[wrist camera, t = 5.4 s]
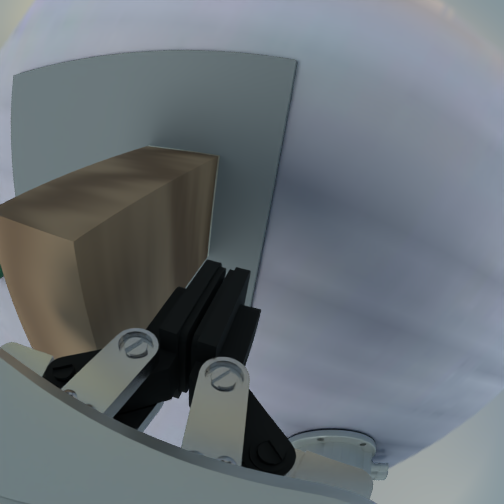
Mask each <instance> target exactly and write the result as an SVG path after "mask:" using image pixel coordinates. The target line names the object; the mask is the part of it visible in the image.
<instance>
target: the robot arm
mask: <svg viewBox="0 0 504 504" xmlns="http://www.w3.org/2000/svg"><path fill="white" fill-rule="evenodd" d="M250 274H251V271H250V270H246V269H242V268H239V267H236V268H235V270H231V269H230V270H229V271H228V273H227V275H226V268H224V267H222V263H220V262H216V261H212V260H208V259H207V260H206V261H205V263H204V264H203V266H202V267H201V268H200V270H199V271H198V273H197V274H196V275H195V277H194V278H193V280H192V281H191V282H190V284H189V285H188V287H187V288H183V287H180V286H179V287H177V288H176V289H175V290H174V292H173V293H172V294H171V296H170V297H169V298H168V300H167V301H166V302H165V304H164V305H163V306H162V308H161V309H160V311H159V312H158V313H157V315H156V316H155V317H154V319H153V320H152V322H151V323H150V324H149V326H148V327H147V328H146V330H145V329H141V328H131V329H127V330H124V331H122V332H121V333H119V334H118V335H117V336H116V337H115V338H114V339H113V340H112V341H110V342H109V343H108V344H107V345H106V346H105V347H104V348H103V349H99V350H94V351H89V352H84V353H79V354H74V355H69V356H64V357H60V358H57V359H54V357H53V355H49V354H46V353H43V352H40V351H37V350H35V349H32V348H29V347H26V346H23V345H21V344H18V343H14V342H10V343H6V344H5V345H3V346H2V347H1V348H0V504H376V503H375V502H373V501H372V500H370V496H371V493H372V489H373V481H372V480H385V479H386V477H387V475H388V467H389V465H388V463H374V462H373V461H371V459H372V458H373V457H374V456H375V453H376V444H375V442H374V441H373V439H371V438H370V437H368V436H366V435H364V434H361V433H357V432H353V431H345V430H318V431H311V432H305V433H301V434H298V435H295V436H293V437H291V438H289V439H288V438H287V437H286V436H285V435H284V433H283V432H282V431H281V430H280V428H279V427H278V426H277V425H276V423H275V422H274V421H273V420H272V418H271V417H270V416H269V414H268V413H267V412H266V411H265V409H264V408H263V407H262V405H261V404H260V403H259V401H258V400H257V399H256V397H255V396H254V395H253V393H252V392H251V391H250V389H249V382H250V378H249V373H248V371H247V369H246V367H245V365H246V362H247V359H248V356H249V353H250V349H251V346H252V343H253V340H254V336H255V333H256V329H257V325H258V321H259V317H260V313H261V310H260V309H257V308H253V307H249V306H245V300H246V294H247V289H248V284H249V279H250ZM225 275H226V277H225ZM188 390H189V406H190V412H189V416H188V420H187V425H186V429H185V433H184V437H183V442H182V446H181V448H180V447H177V446H175V445H172V444H169V443H167V442H164V441H162V440H159V439H157V438H154V437H152V436H149V435H147V434H145V433H143V431H144V430H145V429H146V427H147V426H148V425H149V423H150V422H151V421H152V419H153V418H154V417H155V415H156V414H157V413H158V412H159V410H160V409H161V408H162V406H163V404H164V401H167V400H170V399H172V397H175V398H178V399H179V397H180V395H181V393H182V392H185V393H187V391H188Z"/></svg>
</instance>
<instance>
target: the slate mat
mask: <svg viewBox="0 0 504 504" xmlns="http://www.w3.org/2000/svg"><path fill="white" fill-rule="evenodd" d="M296 67H297V60H294V59H288V58H281V57H274V56H267V55H258V54H249V53H238V52H224V51H202V50H168V51H146V52H132V53H122V54H113V55H105V56H97V57H91V58H85V59H79V60H74V61H68V62H64V63H59V64H54V65H50V66H46V67H42V68H38V69H34V70H31V71H27V72H23V73H20V74H17V75H14V76H13V87H12V103H11V150H12V167H13V178H14V188H15V196H16V197H17V196H19V195H21V194H23V193H25V192H27V191H29V190H31V189H33V188H36V187H38V186H40V185H42V184H45V183H47V182H49V181H51V180H54V179H56V178H59V177H61V176H63V175H66V174H68V173H71V172H73V171H76V170H78V169H81V168H84V167H86V166H89V165H92V164H94V163H97V162H100V161H103V160H106V159H108V158H111V157H114V156H117V155H120V154H123V153H126V152H130V151H133V150H136V149H139V148H142V147H146V146H158V147H166V148H174V149H181V150H188V151H195V152H201V153H208V154H214V155H220V159H219V167H218V175H217V183H216V192H215V200H214V209H213V218H212V228H211V238H210V248H209V256H208V257H207V258H206V260H207V259H208V260H212V261H216V262H220V263H222V267H224V268H226V275H227V273H228V271H229V270H230V269H231V270H235V268H236V267H239V268H242V269H246V270H250V271H251V274H250V279H249V284H248V289H247V294H246V300H245V306H249V307H251V304H252V299H253V294H254V289H255V284H256V279H257V274H258V269H259V264H260V258H261V253H262V248H263V243H264V238H265V233H266V228H267V223H268V217H269V212H270V207H271V202H272V197H273V191H274V186H275V181H276V176H277V170H278V165H279V160H280V154H281V149H282V144H283V138H284V133H285V128H286V122H287V117H288V111H289V106H290V100H291V95H292V89H293V84H294V78H295V73H296ZM206 260H205V261H206ZM205 261H204V262H203V264H204V263H205ZM203 264H202V265H201V267H202V266H203ZM201 267H200V268H201ZM200 268H199V269H198V271H199V270H200ZM198 271H197V272H196V273H195V275H196V274H197V273H198ZM195 275H194V276H193V278H194V277H195ZM226 275H225V277H226ZM193 278H192V279H191V280H190V282H191V281H192V280H193ZM190 282H189V283H188V285H189V284H190ZM188 285H187V286H186V287H185V288H187V287H188Z"/></svg>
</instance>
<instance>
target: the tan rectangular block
mask: <svg viewBox="0 0 504 504" xmlns="http://www.w3.org/2000/svg"><path fill="white" fill-rule="evenodd" d="M219 159H220V155H214V154H208V153H201V152H195V151H188V150H181V149H174V148H166V147H158V146H146V147H142V148H139V149H136V150H133V151H130V152H126V153H123V154H120V155H117V156H114V157H111V158H108V159H106V160H103V161H100V162H97V163H94V164H92V165H89V166H86V167H84V168H81V169H78V170H76V171H73V172H71V173H68V174H66V175H63V176H61V177H59V178H56V179H54V180H51V181H49V182H47V183H45V184H42V185H40V186H38V187H36V188H33V189H31V190H29V191H27V192H25V193H23V194H21V195H19V196H17V197H15V198H12V199H10V200H8V201H7V202H5V203H3V204H1V205H0V264H1V268H2V271H3V274H4V278H5V281H6V284H7V287H8V290H9V293H10V296H11V298H12V301H13V304H14V306H15V309H16V312H17V314H18V317H19V319H20V322H21V324H22V326H23V329H24V331H25V333H26V336H27V338H28V340H29V342H30V345H31V347H32V348H33V349H35V350H37V351H40V352H43V353H46V354H49V355H53V357H54V359H57V358H60V357H64V356H69V355H74V354H79V353H84V352H89V351H94V350H99V349H103V348H104V347H105V346H106V345H107V344H108V343H109V342H110V341H112V340H113V339H114V338H115V337H116V336H117V335H118V334H119V333H121V332H122V331H124V330H127V329H131V328H141V329H145V330H146V328H147V327H148V326H149V324H150V323H151V322H152V320H153V319H154V317H155V316H156V315H157V313H158V312H159V311H160V309H161V308H162V306H163V305H164V304H165V302H166V301H167V300H168V298H169V297H170V296H171V294H172V293H173V292H174V290H175V289H176V288H177V287H179V286H180V287H183V288H185V287H186V286H187V285H188V283H189V282H190V280H191V279H192V278H193V276H194V275H195V273H196V272H197V271H198V269H199V268H200V267H201V265H202V264H203V262H204V261H205V260H206V258H207V257H208V256H209V248H210V238H211V228H212V218H213V209H214V200H215V192H216V183H217V175H218V167H219Z"/></svg>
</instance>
